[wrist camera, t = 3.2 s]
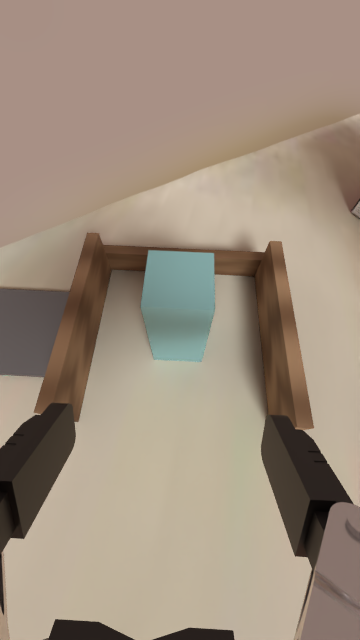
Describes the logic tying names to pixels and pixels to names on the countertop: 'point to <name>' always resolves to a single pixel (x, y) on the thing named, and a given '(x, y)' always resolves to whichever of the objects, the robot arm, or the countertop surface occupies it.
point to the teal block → (178, 303)
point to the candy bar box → (356, 210)
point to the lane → (268, 268)
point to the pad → (28, 330)
